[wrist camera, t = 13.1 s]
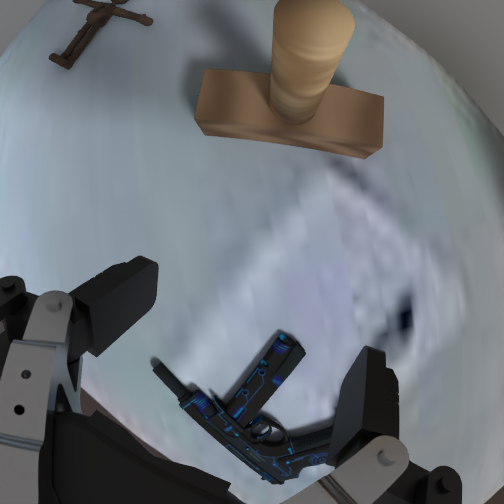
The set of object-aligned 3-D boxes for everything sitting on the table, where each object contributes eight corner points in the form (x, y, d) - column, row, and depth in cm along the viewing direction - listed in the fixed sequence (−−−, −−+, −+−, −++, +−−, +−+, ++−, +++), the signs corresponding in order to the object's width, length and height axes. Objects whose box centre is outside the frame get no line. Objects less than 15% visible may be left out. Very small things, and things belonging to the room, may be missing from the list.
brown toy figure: (24, 46, 25) (86, -31, 23) (41, 55, 30) (99, -18, 27) (89, 82, 26) (170, -14, 23) (108, 93, 30) (181, 4, 27)
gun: (251, 287, 31) (151, 368, 32) (249, 292, 28) (142, 378, 29) (376, 426, 31) (282, 485, 32) (383, 439, 28) (282, 499, 29)
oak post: (318, 87, 23) (354, 0, 11) (314, 128, 23) (354, 53, 11) (272, 80, 23) (278, -14, 11) (266, 121, 23) (269, 38, 11)
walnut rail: (367, 114, 28) (383, 96, 23) (364, 159, 28) (382, 147, 23) (213, 91, 28) (204, 68, 23) (204, 135, 28) (194, 118, 23)
